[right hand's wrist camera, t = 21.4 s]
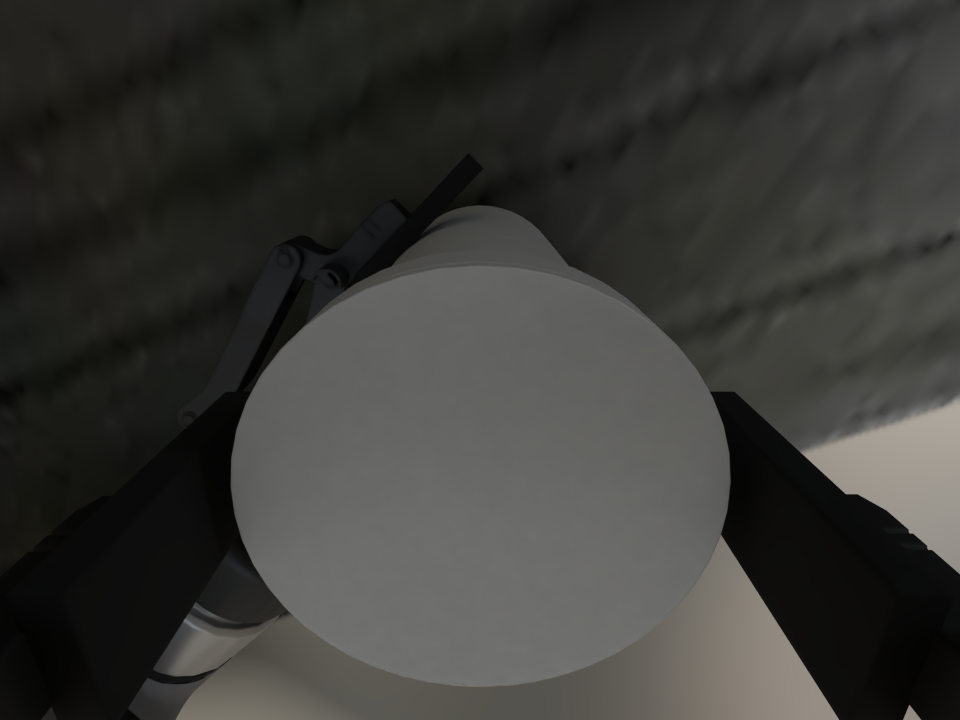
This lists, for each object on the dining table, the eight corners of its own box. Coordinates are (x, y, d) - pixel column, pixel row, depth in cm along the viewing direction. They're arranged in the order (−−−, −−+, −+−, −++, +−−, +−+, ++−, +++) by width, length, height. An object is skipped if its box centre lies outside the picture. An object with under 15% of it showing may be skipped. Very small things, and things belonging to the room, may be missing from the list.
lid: (476, 135, 10) (476, 131, 8) (785, 463, 12) (831, 509, 11) (176, 468, 12) (131, 514, 11) (482, 682, 15) (483, 745, 13)
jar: (415, 375, 31) (332, 658, 13) (383, 219, 27) (217, 325, 10) (568, 353, 30) (687, 619, 13) (553, 192, 27) (684, 257, 10)
